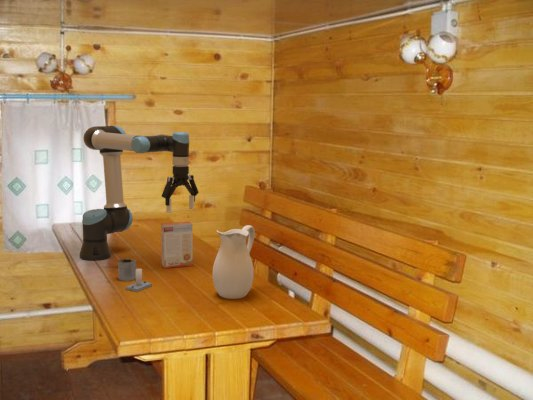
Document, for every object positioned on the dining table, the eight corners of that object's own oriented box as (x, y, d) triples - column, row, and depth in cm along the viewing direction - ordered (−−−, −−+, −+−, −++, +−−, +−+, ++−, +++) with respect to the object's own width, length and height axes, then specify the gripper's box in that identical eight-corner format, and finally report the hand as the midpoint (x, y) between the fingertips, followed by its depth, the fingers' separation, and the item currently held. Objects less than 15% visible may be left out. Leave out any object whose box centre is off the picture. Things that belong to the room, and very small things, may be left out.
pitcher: (238, 304, 252) (239, 235, 247) (203, 296, 261) (204, 229, 256) (269, 289, 272) (271, 225, 267) (237, 282, 281) (238, 220, 276)
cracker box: (189, 263, 311) (189, 221, 308) (192, 266, 306) (193, 223, 302) (161, 265, 306) (160, 222, 302) (164, 268, 300) (163, 225, 297)
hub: (115, 279, 282) (114, 261, 280) (126, 275, 288) (126, 258, 287) (128, 281, 278) (128, 264, 277) (139, 277, 285) (139, 260, 283)
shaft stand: (125, 289, 267) (125, 271, 266) (140, 283, 276) (140, 265, 275) (136, 291, 264) (136, 273, 263) (152, 285, 273) (151, 267, 272)
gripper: (164, 168, 284) (164, 215, 287) (206, 164, 302) (205, 208, 305) (153, 166, 289) (153, 212, 292) (195, 163, 307) (195, 206, 310)
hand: (180, 210), depth 299 cm, fingers open, 13 cm apart
